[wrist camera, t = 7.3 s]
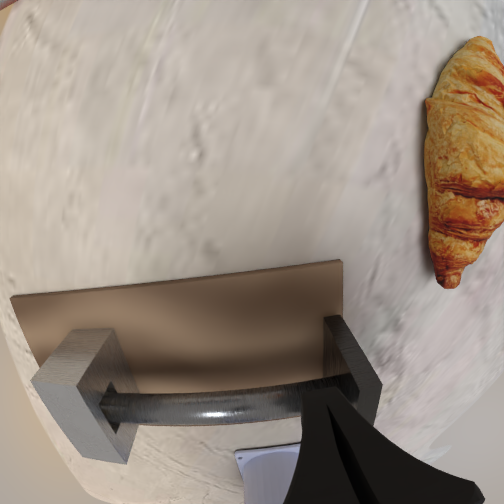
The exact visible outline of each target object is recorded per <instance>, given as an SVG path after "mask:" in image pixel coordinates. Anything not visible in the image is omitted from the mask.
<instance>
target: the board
mask: <svg viewBox="0 0 504 504" xmlns="http://www.w3.org/2000/svg"><path fill="white" fill-rule="evenodd" d="M10 301H11V304H12V306H13V309H14V312H15V314H16V317H17V319H18V322H19V324H20V327H21V329H22V331H23V334H24V336H25V338H26V340H27V343H28V345H29V347H30V349H31V351H32V353H33V355H34V357H35V359H36V361H37V363H38V365H39V367H41V366H42V365H43V364H44V362H45V361H46V360H47V359H48V358H49V356H50V355H51V354H52V353H53V351H54V350H55V349H56V348H57V347H58V346H59V344H60V343H61V342H62V341H63V340H64V338H65V337H66V336H67V335H68V334H69V333H70V331H71V330H72V329H93V328H114V329H115V332H116V335H117V338H118V340H119V343H120V346H121V348H122V351H123V353H124V356H125V358H126V361H127V363H128V366H129V368H130V371H131V373H132V375H133V378H134V380H135V382H136V385H137V387H138V389H139V391H140V393H196V392H214V391H228V390H239V389H249V388H259V387H267V386H275V385H282V384H289V383H295V382H302V381H308V380H313V379H319V378H323V317H327V316H333V315H339V314H340V315H341V317H342V318H343V262H342V261H341V260H340V259H339V260H331V261H324V262H317V263H309V264H302V265H294V266H287V267H279V268H271V269H263V270H255V271H247V272H239V273H231V274H223V275H214V276H206V277H197V278H188V279H180V280H171V281H162V282H152V283H143V284H134V285H124V286H114V287H104V288H94V289H84V290H73V291H62V292H51V293H40V294H28V295H16V296H12V297H11V298H10ZM300 416H301V415H300ZM300 416H294V417H300ZM287 418H293V417H287ZM287 418H280V419H287ZM272 420H279V419H272ZM272 420H264V421H272ZM255 422H263V421H255ZM244 423H254V422H244ZM231 424H243V423H231ZM139 425H147V424H139ZM214 425H230V424H214ZM150 426H212V425H150Z"/></svg>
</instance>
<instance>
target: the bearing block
mask: <svg viewBox="0 0 504 504" xmlns="http://www.w3.org/2000/svg"><path fill="white" fill-rule="evenodd" d="M30 381H31V383H32V384H33V386H34V388H35V389H36V391H37V393H38V394H39V396H40V398H41V399H42V401H43V403H44V404H45V406H46V407H47V409H48V410H49V412H50V413H51V415H52V416H53V418H54V419H55V421H56V422H57V424H58V425H59V427H60V428H61V429H62V431H63V432H64V433H65V435H66V436H67V438H68V439H69V440H70V442H71V443H72V444H73V445H74V447H75V448H76V449H77V450H78V452H79V453H80V454H81V455H82V457H85V458H90V459H95V460H101V461H106V462H113V463H119V464H126V465H127V461H128V458H129V455H130V452H131V448H132V445H133V442H134V439H135V435H136V432H137V429H138V426H139V424H130V423H118V422H108V421H107V419H106V418H105V416H104V414H103V413H102V411H101V409H100V408H99V406H98V405H99V403H100V401H101V399H102V397H103V395H104V393H105V392H118V393H140V391H139V389H138V387H137V385H136V382H135V380H134V378H133V375H132V373H131V371H130V368H129V366H128V363H127V361H126V358H125V356H124V353H123V351H122V348H121V346H120V343H119V340H118V338H117V335H116V332H115V329H114V328H93V329H72V330H71V331H70V333H69V334H68V335H67V336H66V337H65V338H64V340H63V341H62V342H61V343H60V344H59V346H58V347H57V348H56V349H55V350H54V351H53V353H52V354H51V355H50V356H49V358H48V359H47V360H46V361H45V362H44V364H43V365H42V366H41V367H40V369H39V370H38V371H37V372H36V374H35V375H34V376H33V378H32V379H31V380H30Z"/></svg>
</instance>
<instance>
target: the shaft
mask: <svg viewBox="0 0 504 504" xmlns="http://www.w3.org/2000/svg"><path fill="white" fill-rule="evenodd" d="M382 385H383V384H382V383H381V381H380V379H379V378H378V376H377V374H376V372H375V371H374V369H373V367H372V366H371V364H370V362H369V361H368V359H367V357H366V356H365V354H364V352H363V351H362V349H361V347H360V346H359V344H358V342H357V341H356V339H355V338H354V336H353V334H352V333H351V331H350V329H349V328H348V326H347V325H346V323H345V321H344V320H343V318H342V317H341V315H340V314H339V315H333V316H327V317H323V378H319V379H313V380H308V381H302V382H295V383H289V384H282V385H275V386H267V387H259V388H249V389H239V390H228V391H214V392H196V393H118V392H105V393H104V395H103V397H102V399H101V401H100V403H99V405H98V406H99V408H100V409H101V411H102V413H103V414H104V416H105V418H106V419H107V421H108V422H118V423H130V424H147V425H214V424H231V423H244V422H255V421H264V420H272V419H280V418H287V417H294V416H300V415H301V394H302V393H303V392H307V391H313V390H318V389H323V388H329V387H334V386H336V387H338V388H339V390H340V391H341V392H342V394H343V395H344V396H345V397H346V398H347V400H348V401H349V402H350V403H351V404H352V405H353V406H354V408H355V409H356V410H357V411H358V412H359V413H360V414H361V415H362V416H363V417H364V418H365V419H366V420H367V421H368V422H369V423H370V424H371V425H372V426H373V425H374V421H375V417H376V413H377V408H378V404H379V399H380V395H381V390H382Z"/></svg>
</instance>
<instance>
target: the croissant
mask: <svg viewBox="0 0 504 504" xmlns="http://www.w3.org/2000/svg"><path fill="white" fill-rule="evenodd" d="M425 104H426V108H427V124H428V127H429V129H428V132H427V135H426V139H425V146H424V167H425V178H426V183H427V188H428V207H429V226H430V229H429V234H428V239H429V244H428V245H429V249H430V254H431V259H432V262H433V265H434V270H435V276H436V280H437V283H438V284H440V285H441V286H442V287H443V288H444V289H454V288H456V287H457V286H458V285H459V283H460V280H461V274H462V272H463V270H464V268H465V266H467V265H469V264H473V262H475V261H476V260H477V258H478V257H479V255H480V253H481V252H482V251H483V249H484V246H485V244H486V241H487V239H489V238H490V237H491V235H492V233H493V232H494V231H495V230H496V229H497V228H498V227H500V225H501V224H502V223H503V222H504V66H503V64H502V63H501V61H500V59H499V57H498V56H497V54H496V53H495V50H494V47H493V44H492V41H491V40H489V39H488V38H485V37H482V36H477V37H474V38H471V39H470V40H469V41H468V42H467V43H466V44H465V46H464V47H463V48H462V49H460V50H458V51H457V52H456V53H455V54H454V55H453V57H452V58H451V59H450V60H449V61H448V63H447V65H446V67H445V68H444V69H443V71H442V73H441V75H440V79H439V81H438V83H437V85H436V88H435V90H434V93H433V95H432V98H426V100H425Z"/></svg>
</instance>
